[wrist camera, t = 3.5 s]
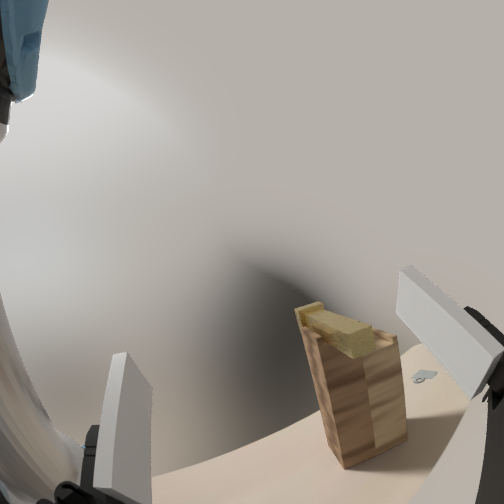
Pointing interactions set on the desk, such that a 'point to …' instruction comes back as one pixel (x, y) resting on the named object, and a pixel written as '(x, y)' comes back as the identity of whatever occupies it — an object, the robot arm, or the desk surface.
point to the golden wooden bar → (337, 329)
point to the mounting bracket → (423, 375)
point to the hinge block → (359, 396)
